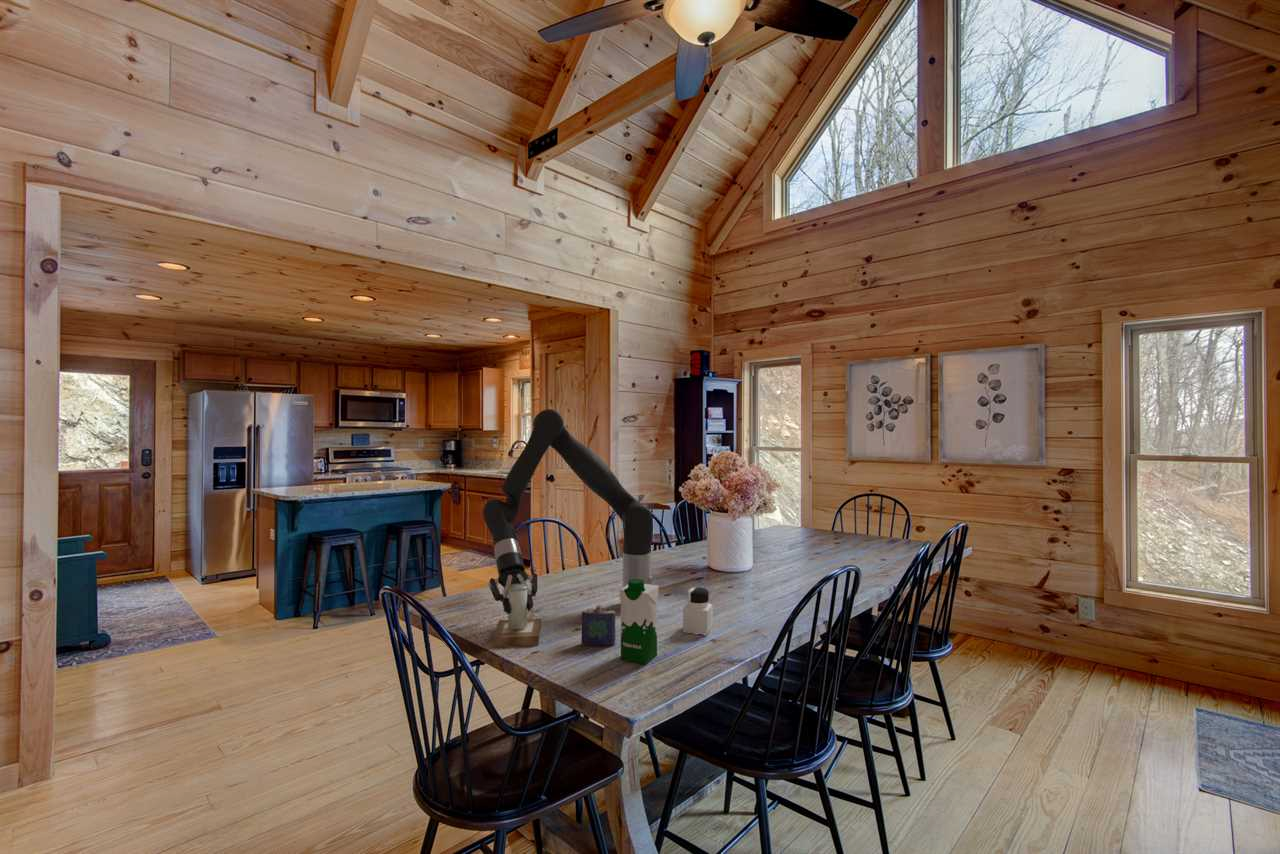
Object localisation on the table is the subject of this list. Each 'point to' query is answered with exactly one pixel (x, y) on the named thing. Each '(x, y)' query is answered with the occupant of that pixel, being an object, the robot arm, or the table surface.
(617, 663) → the table surface
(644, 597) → the milk carton
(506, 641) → the pedestal
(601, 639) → the flask
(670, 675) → the table surface
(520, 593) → the canister
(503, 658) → the table surface
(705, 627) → the medicine bottle
